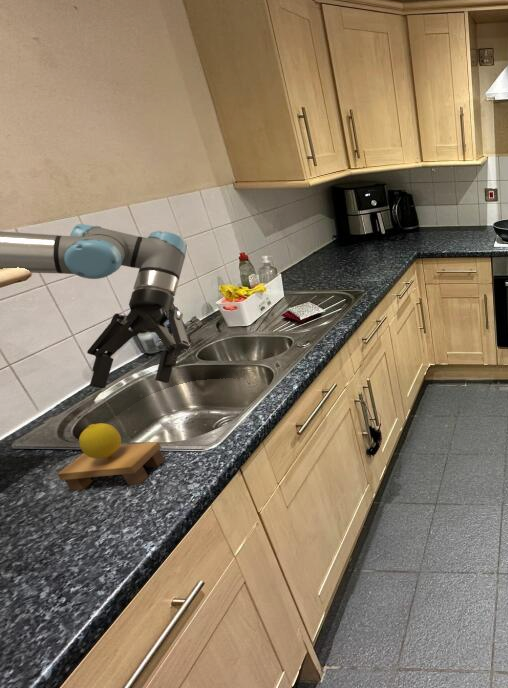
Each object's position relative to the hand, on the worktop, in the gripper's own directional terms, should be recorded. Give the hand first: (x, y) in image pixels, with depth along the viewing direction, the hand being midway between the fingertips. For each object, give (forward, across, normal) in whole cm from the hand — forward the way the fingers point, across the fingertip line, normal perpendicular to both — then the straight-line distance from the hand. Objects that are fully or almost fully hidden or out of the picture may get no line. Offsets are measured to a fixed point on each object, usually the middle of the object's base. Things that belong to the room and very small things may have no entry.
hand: (129, 384), depth 87 cm
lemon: (+15, 0, 0) cm, 15 cm away
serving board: (+18, 0, -3) cm, 19 cm away
